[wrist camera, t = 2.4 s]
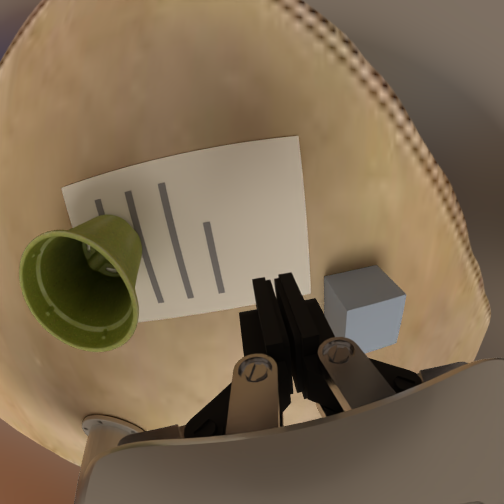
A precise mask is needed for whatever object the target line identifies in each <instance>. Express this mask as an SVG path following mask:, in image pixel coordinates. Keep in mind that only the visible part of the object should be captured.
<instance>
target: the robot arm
mask: <svg viewBox="0 0 504 504" xmlns="http://www.w3.org/2000/svg"><path fill="white" fill-rule="evenodd" d="M252 283H253V289H254V295H255V301H256V307H257V309H256V310H251V311H245V312H239V317H240V326H241V334H242V343H243V352H244V357H243V358H242V359H240V360H239V361H238V362H237V363H236V365H235V367H234V370H233V377H232V382H231V383H230V384H229V385H228V386H227V387H226V388H225V389H224V390H223V391H222V392H221V393H220V394H218V395H217V396H216V397H215V398H214V399H213V400H212V401H211V402H210V403H209V404H207V405H206V406H205V407H204V408H203V409H202V410H201V411H200V412H198V413H197V414H196V415H195V416H194V417H193V418H192V419H190V421H189V422H188V423H187V424H186V425H184V426H180V427H179V426H178V424H177V425H172V426H168V427H164V428H159V429H155V430H150V431H145V432H144V431H143V430H142V429H140V428H138V427H137V426H135V425H133V424H131V423H128V422H126V421H123V420H120V419H117V418H113V417H109V416H104V415H91V416H87V417H86V418H84V420H83V423H82V429H83V431H84V432H85V434H86V435H87V436H88V439H87V443H86V447H85V451H84V455H83V460H82V464H81V469H80V473H79V479H78V484H77V489H76V495H75V501H74V504H504V358H490V359H482V360H479V361H474V362H471V363H466V362H457V363H452V364H448V365H444V366H439V367H434V368H429V369H424V370H420V372H419V373H417V374H416V373H414V372H412V371H410V370H407V369H403V368H400V367H396V366H393V365H390V364H386V363H383V362H380V361H377V360H374V359H370V358H368V357H367V356H366V355H365V353H364V352H363V351H362V350H361V348H360V347H359V346H358V345H357V344H356V343H355V342H354V341H353V340H351V339H349V338H345V337H335V335H334V333H333V331H332V329H331V327H330V325H329V323H328V321H327V319H326V317H325V315H324V313H323V311H322V309H321V308H320V306H319V304H318V302H317V300H316V299H315V298H314V299H309V300H304V299H303V296H302V294H301V292H300V290H299V288H298V285H297V283H296V281H295V279H294V277H293V274H292V272H289V273H284V274H279V275H278V278H275V279H274V284H275V293H276V296H275V293H274V289H273V286H272V283H271V280H265V277H262V278H256V279H252ZM292 376H293V380H294V383H295V387H296V391H297V393H299V392H302V394H303V397H304V399H306V398H307V399H309V400H311V401H313V402H316V406H317V409H318V411H319V413H320V414H321V416H322V418H319V419H315V420H311V421H307V422H303V423H298V424H293V425H289V426H284V423H283V412H284V410H285V409H286V408H287V407H288V406H289V404H290V403H291V398H290V394H293V382H292Z"/></svg>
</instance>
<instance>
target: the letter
mask: <svg viewBox="0 0 504 504" xmlns="http://www.w3.org/2000/svg"><path fill="white" fill-rule="evenodd" d="M61 189H62V193H63V197H64V200H65V204H66V208H67V211H68V214H69V218H70V221H71V224H72V227H73V228H74V227H76V226H78V225H80V224H82V223H85V222H87V221H89V220H91V219H93V218H95V217H97V216H100V215H114V216H118V217H120V218H122V219H124V220H126V221H127V223H128V224H129V225H130V226H131V227H132V228H133V229H134V230H135V231H136V232H137V233H138V235H139V238H140V241H141V245H142V257H141V261H140V266H139V270H138V274H137V280H136V285H135V291H136V295H137V299H138V305H139V318H138V322H146V321H153V320H161V319H168V318H175V317H182V316H189V315H196V314H202V313H208V312H215V311H221V310H227V309H233V308H238V307H244V306H250V305H255V304H256V301H255V295H254V289H253V283H252V279H256V278H262V277H265V280H271V283H272V286H273V289H274V293H275V284H274V279H275V278H278V275H279V274H284V273H289V272H292V274H293V277H294V279H295V281H296V283H297V285H298V288H299V290H300V292H301V294H302V295H306V294H311V284H310V263H309V246H308V231H307V218H306V205H305V194H304V183H303V173H302V163H301V154H300V146H299V137H298V136H290V137H281V138H272V139H264V140H257V141H250V142H243V143H236V144H230V145H224V146H218V147H213V148H207V149H202V150H197V151H192V152H187V153H182V154H178V155H173V156H169V157H164V158H160V159H156V160H152V161H148V162H144V163H140V164H136V165H132V166H129V167H125V168H122V169H118V170H115V171H111V172H108V173H105V174H101V175H98V176H95V177H92V178H89V179H86V180H83V181H80V182H77V183H74V184H71V185H68V186H65V187H62V188H61ZM86 245H87V250H88V251H89V252H91V250H90V245H88V244H86ZM106 270H107V271H110V272H117V270H116V269H111V268H106ZM275 296H276V293H275Z"/></svg>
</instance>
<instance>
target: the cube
mask: <svg viewBox="0 0 504 504" xmlns="http://www.w3.org/2000/svg"><path fill="white" fill-rule="evenodd" d="M405 299H406V294H405V293H404V292H403V291H402V290H401V289H400V288H399V287H398V286H397V285H396V284H395V283H394V282H393V281H392V280H391V279H390V278H389V277H388V276H387V275H386V274H385V273H384V272H383V271H382V270H381V269H380V268H379V267H378V266H377V265H374V266H370V267H365V268H361V269H356V270H352V271H347V272H343V273H338V274H333V275H329V276H324V315H325V317H326V319H327V321H328V323H329V325H330V327H331V329H332V331H333V333H334V335H335V337H345V338H349V339H351V340H353V341H354V342H355V343H356V344H357V345H358V346H359V347H360V348H361V350H362V351H363V352H364V353H368V352H371V351H374V350H377V349H380V348H383V347H386V346H389V345H392V344H395V343H396V342H397V338H398V333H399V329H400V325H401V320H402V315H403V310H404V305H405Z"/></svg>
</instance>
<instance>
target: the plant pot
mask: <svg viewBox="0 0 504 504" xmlns="http://www.w3.org/2000/svg"><path fill="white" fill-rule="evenodd" d="M86 244H88V245H90V250H91V252H89V251H88V250H87V245H86ZM141 257H142V245H141V241H140V238H139V235H138V233H137V232H136V231H135V230H134V229H133V228H132V227H131V226H130V225H129V224H128V223H127V221H126V220H124V219H122V218H120V217H118V216H114V215H100V216H97V217H95V218H93V219H91V220H89V221H87V222H85V223H82V224H80V225H78V226H76V227H74V228H72V229H70V230H54V231H49V232H46V233H43V234H41V235H39V236H38V237H36V238H35V239H33V240H32V241H31V242H30V243H29V244H28V246H27V247H26V248H25V250H24V252H23V254H22V257H21V261H20V267H19V281H20V286H21V289H22V294H23V297H24V299H25V302H26V303H27V305H28V307H29V309H30V311H31V313H32V314H33V316H34V317H35V318H36V320H37V321H38V322H39V323H40V324H41V325H42V327H43V328H44V329H45V330H47V331H48V332H49V333H50V334H51V335H53V336H54V337H55V338H57V339H58V340H60V341H62V342H63V343H65V344H67V345H69V346H71V347H74V348H77V349H81V350H84V351H90V352H105V351H110V350H113V349H116V348H118V347H120V346H122V345H123V344H125V343H126V342H127V341H128V340H129V339H130V338H131V337H132V335H133V334H134V331H135V329H136V327H137V323H138V318H139V305H138V299H137V295H136V291H135V285H136V280H137V274H138V270H139V266H140V261H141ZM106 268H111V269H116V270H117V272H110V271H107V270H106Z"/></svg>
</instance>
